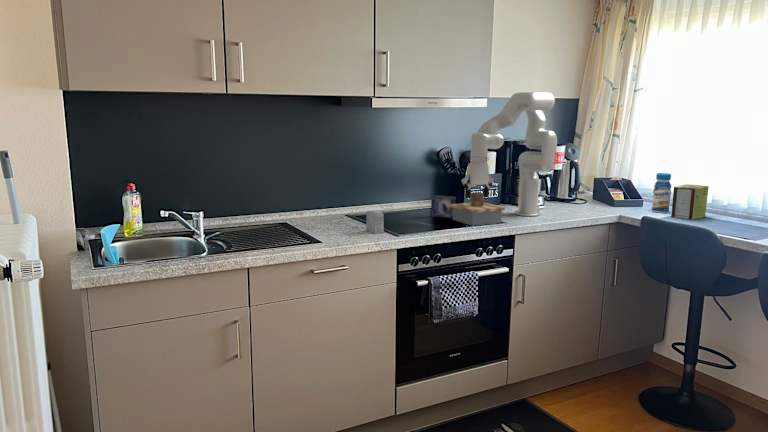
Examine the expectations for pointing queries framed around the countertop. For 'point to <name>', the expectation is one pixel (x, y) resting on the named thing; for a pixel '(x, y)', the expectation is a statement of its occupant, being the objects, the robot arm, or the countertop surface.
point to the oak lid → (477, 204)
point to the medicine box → (375, 222)
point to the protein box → (689, 201)
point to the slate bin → (477, 217)
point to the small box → (442, 206)
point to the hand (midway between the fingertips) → (476, 197)
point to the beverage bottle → (661, 193)
